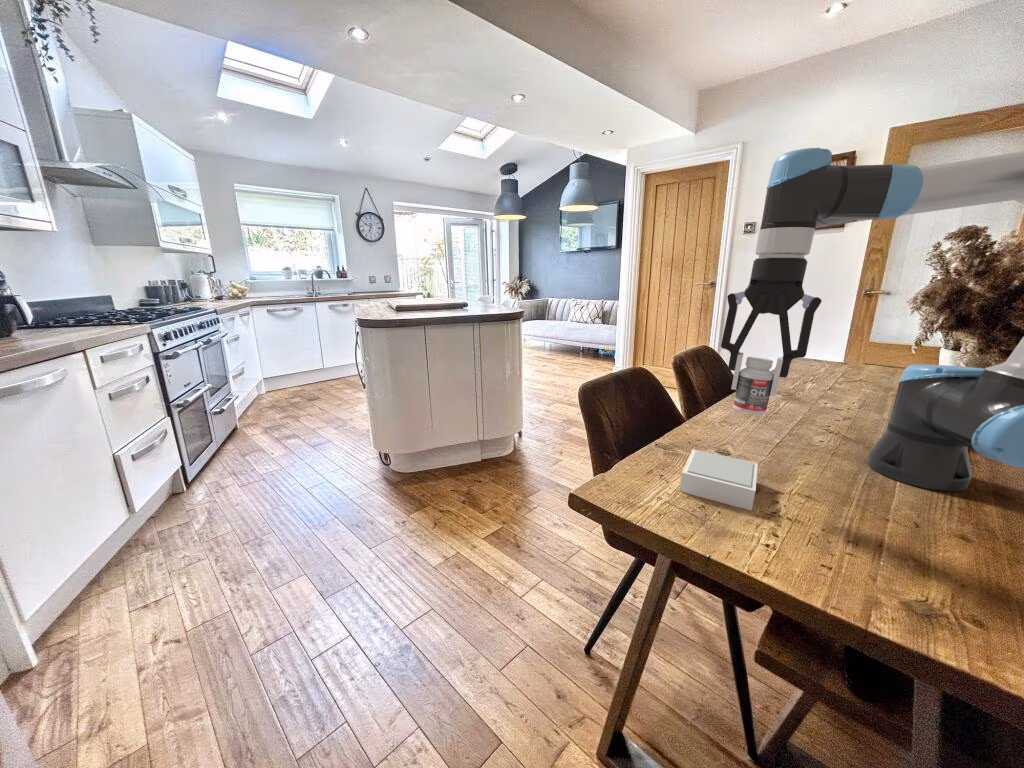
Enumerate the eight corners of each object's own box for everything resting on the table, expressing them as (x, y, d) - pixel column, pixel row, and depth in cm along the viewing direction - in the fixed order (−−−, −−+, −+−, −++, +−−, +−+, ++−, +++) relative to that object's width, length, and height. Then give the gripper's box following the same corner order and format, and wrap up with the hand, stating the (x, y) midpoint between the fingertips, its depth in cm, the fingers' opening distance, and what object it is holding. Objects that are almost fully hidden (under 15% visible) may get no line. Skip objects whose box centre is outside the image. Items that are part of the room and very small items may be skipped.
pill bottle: (749, 416, 69) (761, 362, 66) (725, 406, 74) (735, 356, 71) (773, 414, 71) (785, 361, 68) (748, 404, 76) (758, 355, 73)
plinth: (754, 481, 79) (758, 462, 78) (751, 510, 69) (755, 489, 68) (690, 466, 85) (692, 447, 84) (679, 491, 75) (682, 471, 74)
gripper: (848, 258, 63) (813, 395, 70) (721, 257, 73) (701, 378, 79) (856, 256, 57) (817, 406, 64) (716, 256, 67) (695, 386, 73)
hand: (752, 390), depth 71 cm, fingers closed on pill bottle, 5 cm apart
